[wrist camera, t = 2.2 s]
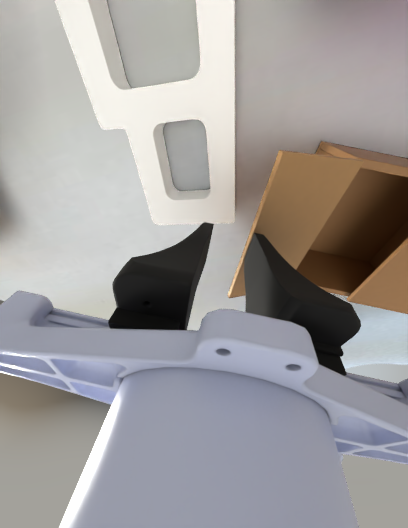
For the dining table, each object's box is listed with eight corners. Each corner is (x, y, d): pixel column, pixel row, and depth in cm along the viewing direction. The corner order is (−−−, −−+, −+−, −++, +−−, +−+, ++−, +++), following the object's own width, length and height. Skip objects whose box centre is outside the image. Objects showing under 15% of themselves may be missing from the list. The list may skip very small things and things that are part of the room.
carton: (273, 243, 24) (283, 288, 18) (321, 140, 17) (364, 160, 11) (367, 263, 24) (410, 315, 18) (456, 168, 17) (575, 202, 11)
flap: (284, 288, 18) (282, 285, 18) (364, 161, 11) (359, 159, 11) (228, 298, 16) (227, 295, 16) (283, 151, 9) (279, 149, 9)
